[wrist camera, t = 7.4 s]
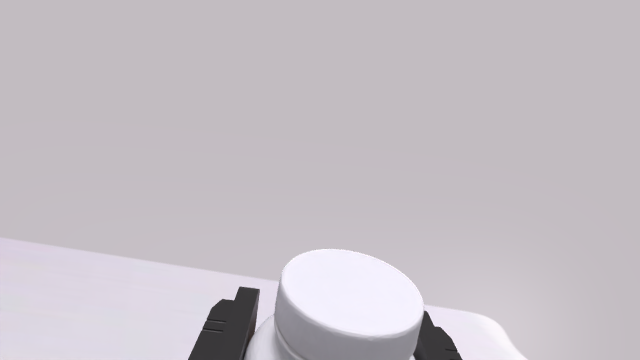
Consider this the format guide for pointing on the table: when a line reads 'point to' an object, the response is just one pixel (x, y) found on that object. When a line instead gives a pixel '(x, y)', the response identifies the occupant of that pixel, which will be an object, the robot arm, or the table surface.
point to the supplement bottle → (340, 311)
